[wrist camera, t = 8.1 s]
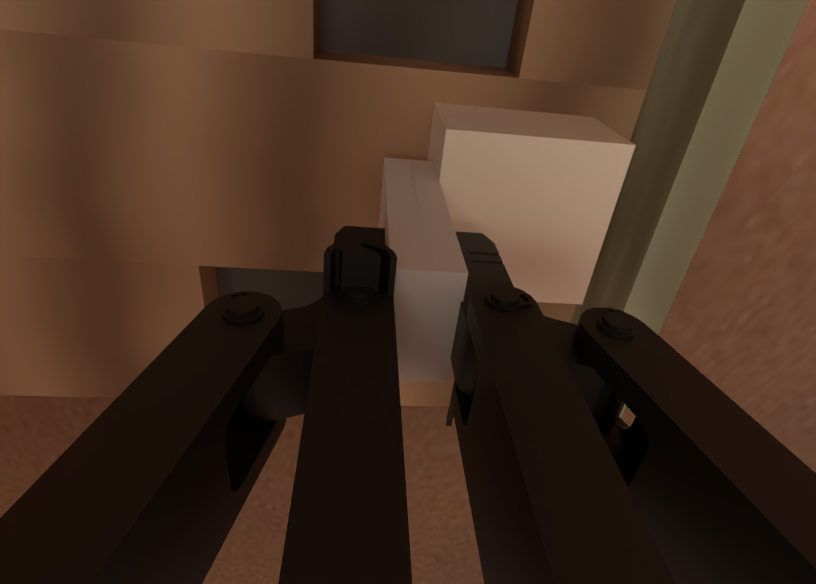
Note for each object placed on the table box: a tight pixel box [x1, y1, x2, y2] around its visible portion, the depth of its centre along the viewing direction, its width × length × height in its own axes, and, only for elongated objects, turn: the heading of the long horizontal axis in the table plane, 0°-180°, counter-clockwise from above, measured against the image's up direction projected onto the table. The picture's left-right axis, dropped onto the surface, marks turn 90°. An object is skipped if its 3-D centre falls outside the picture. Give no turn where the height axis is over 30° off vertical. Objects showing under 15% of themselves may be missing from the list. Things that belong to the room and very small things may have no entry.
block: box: [427, 103, 636, 304], centre depth 15 cm, size 5×5×3 cm
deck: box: [0, 0, 809, 418], centre depth 16 cm, size 24×20×5 cm
